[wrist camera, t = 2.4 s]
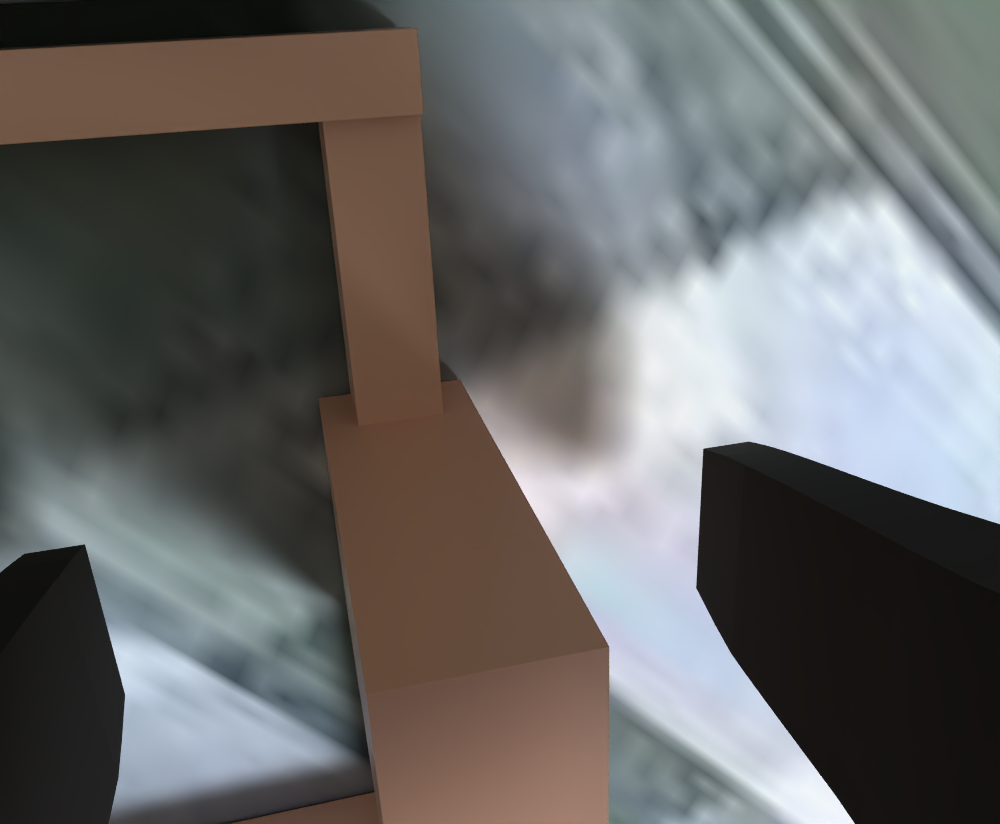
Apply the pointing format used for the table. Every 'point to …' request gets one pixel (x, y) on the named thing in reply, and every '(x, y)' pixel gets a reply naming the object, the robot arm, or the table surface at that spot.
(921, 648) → the robot arm
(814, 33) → the table surface
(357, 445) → the cup sled
